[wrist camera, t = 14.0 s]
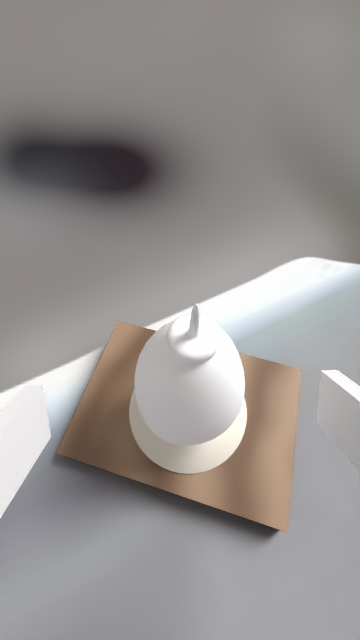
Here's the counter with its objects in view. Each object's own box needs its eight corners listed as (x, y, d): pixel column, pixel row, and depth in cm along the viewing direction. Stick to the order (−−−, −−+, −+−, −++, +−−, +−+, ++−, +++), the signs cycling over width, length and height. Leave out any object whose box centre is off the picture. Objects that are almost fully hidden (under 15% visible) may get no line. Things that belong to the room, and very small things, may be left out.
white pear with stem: (155, 464, 25) (116, 428, 10) (137, 379, 29) (88, 252, 13) (240, 439, 26) (331, 369, 11) (213, 359, 30) (250, 221, 14)
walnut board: (294, 376, 32) (302, 368, 30) (279, 530, 25) (288, 532, 23) (120, 329, 34) (117, 320, 33) (63, 455, 27) (55, 452, 26)
